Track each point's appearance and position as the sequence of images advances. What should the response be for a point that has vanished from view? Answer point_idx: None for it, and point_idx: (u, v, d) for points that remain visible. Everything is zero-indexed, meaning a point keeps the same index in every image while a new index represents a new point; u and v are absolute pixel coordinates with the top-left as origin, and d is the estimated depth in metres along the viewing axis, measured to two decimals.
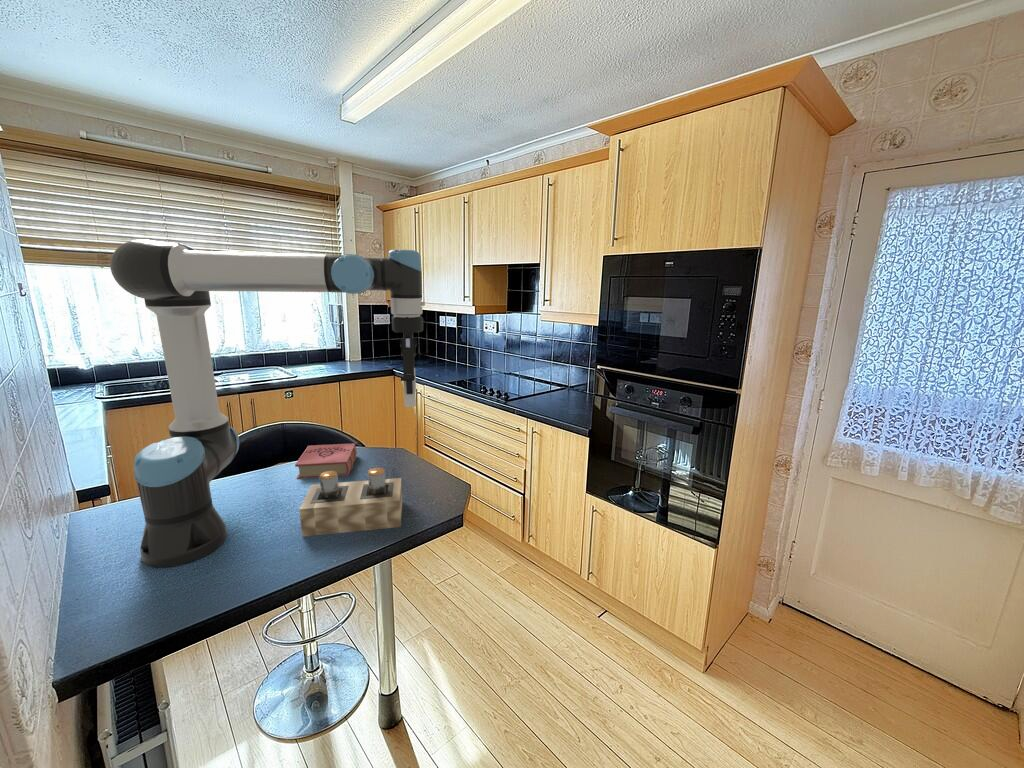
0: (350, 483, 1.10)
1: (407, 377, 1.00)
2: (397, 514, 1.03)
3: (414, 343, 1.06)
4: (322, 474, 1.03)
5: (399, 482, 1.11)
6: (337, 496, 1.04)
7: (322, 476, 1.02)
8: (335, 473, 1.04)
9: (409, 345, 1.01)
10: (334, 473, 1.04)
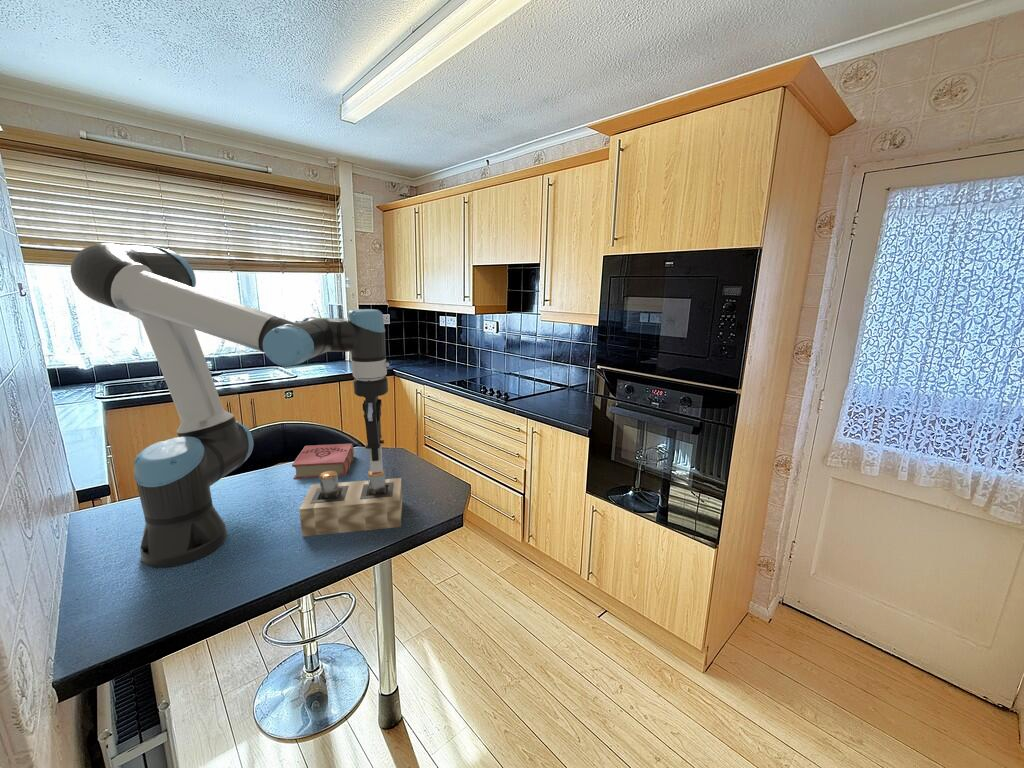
0: (350, 483, 1.10)
1: (372, 447, 1.00)
2: (397, 514, 1.03)
3: (378, 408, 1.00)
4: (322, 474, 1.03)
5: (399, 482, 1.11)
6: (337, 496, 1.04)
7: (322, 476, 1.02)
8: (335, 473, 1.04)
9: (372, 420, 0.96)
10: (334, 473, 1.04)
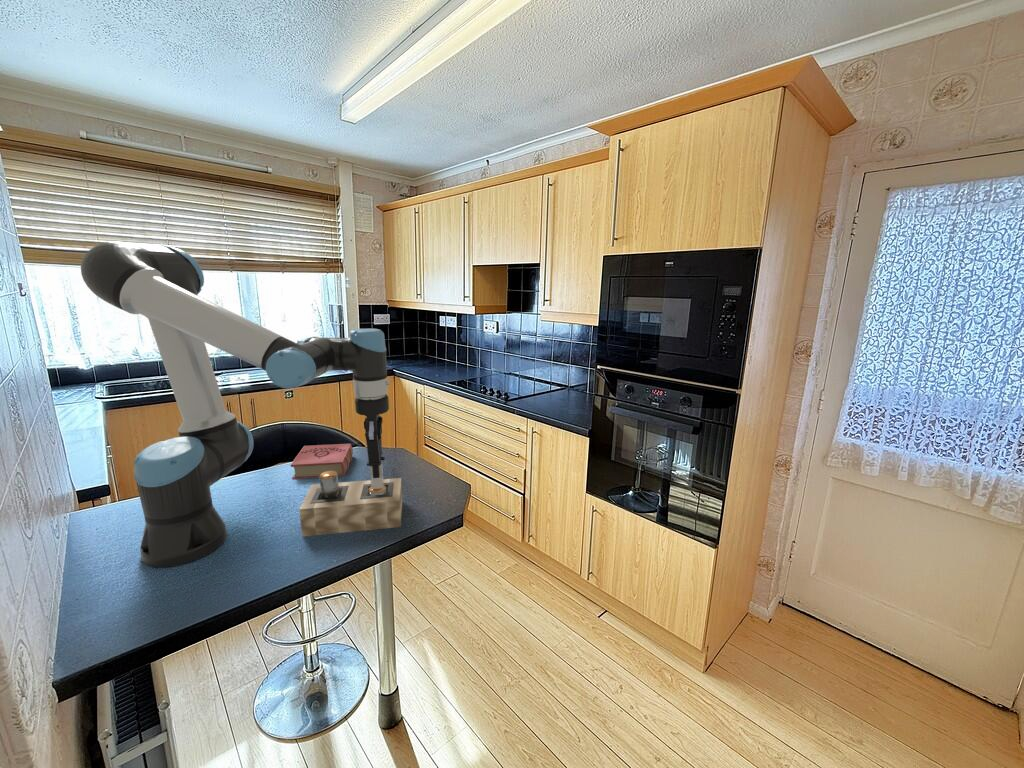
0: (350, 483, 1.10)
1: (373, 465, 1.01)
2: (397, 514, 1.03)
3: (379, 426, 1.01)
4: (322, 474, 1.03)
5: (399, 482, 1.11)
6: (337, 496, 1.04)
7: (322, 476, 1.02)
8: (335, 473, 1.04)
9: (373, 438, 0.97)
10: (334, 473, 1.04)
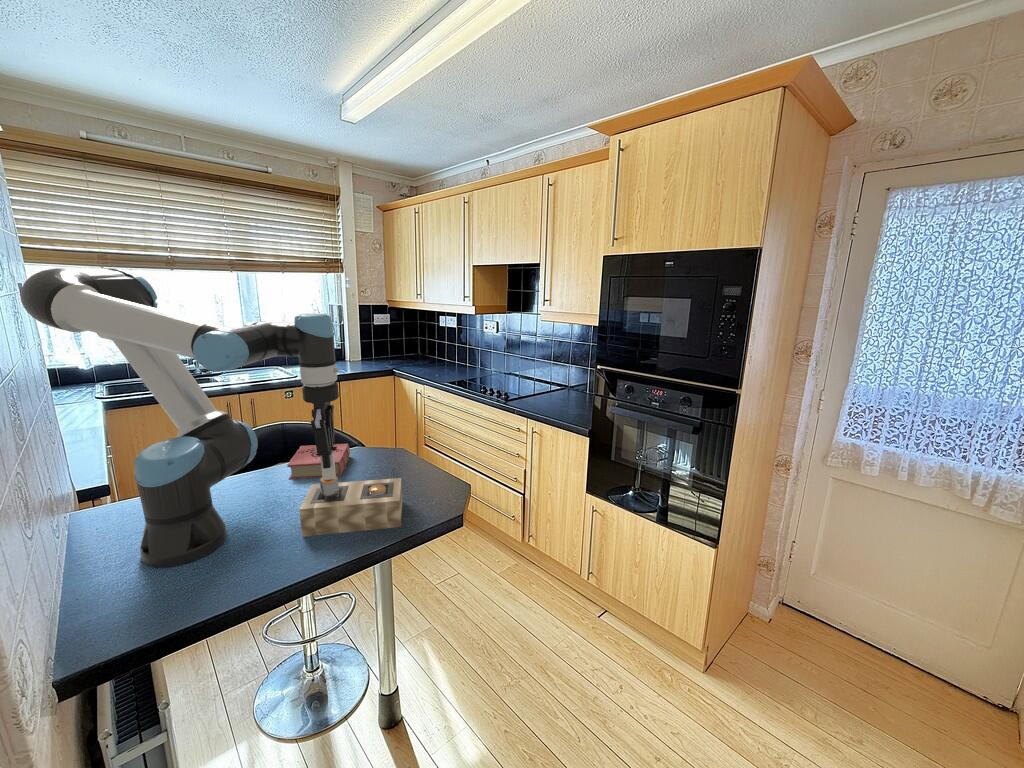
0: (350, 483, 1.10)
1: (321, 455, 0.98)
2: (397, 514, 1.03)
3: (328, 415, 0.98)
4: None
5: (399, 482, 1.11)
6: None
7: (322, 481, 1.02)
8: (335, 478, 1.04)
9: (320, 426, 0.94)
10: None
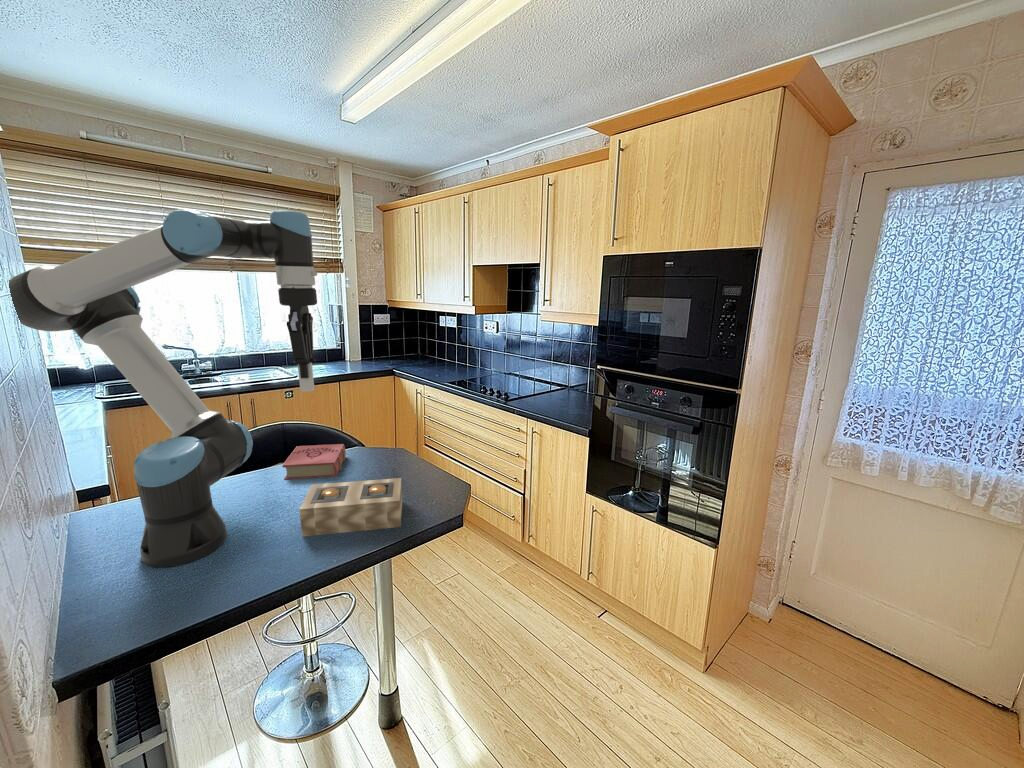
0: (350, 483, 1.10)
1: (298, 361, 0.95)
2: (397, 514, 1.03)
3: (305, 320, 0.95)
4: (324, 491, 1.04)
5: (399, 482, 1.11)
6: None
7: (324, 494, 1.03)
8: (337, 491, 1.05)
9: (296, 329, 0.91)
10: (336, 491, 1.05)
